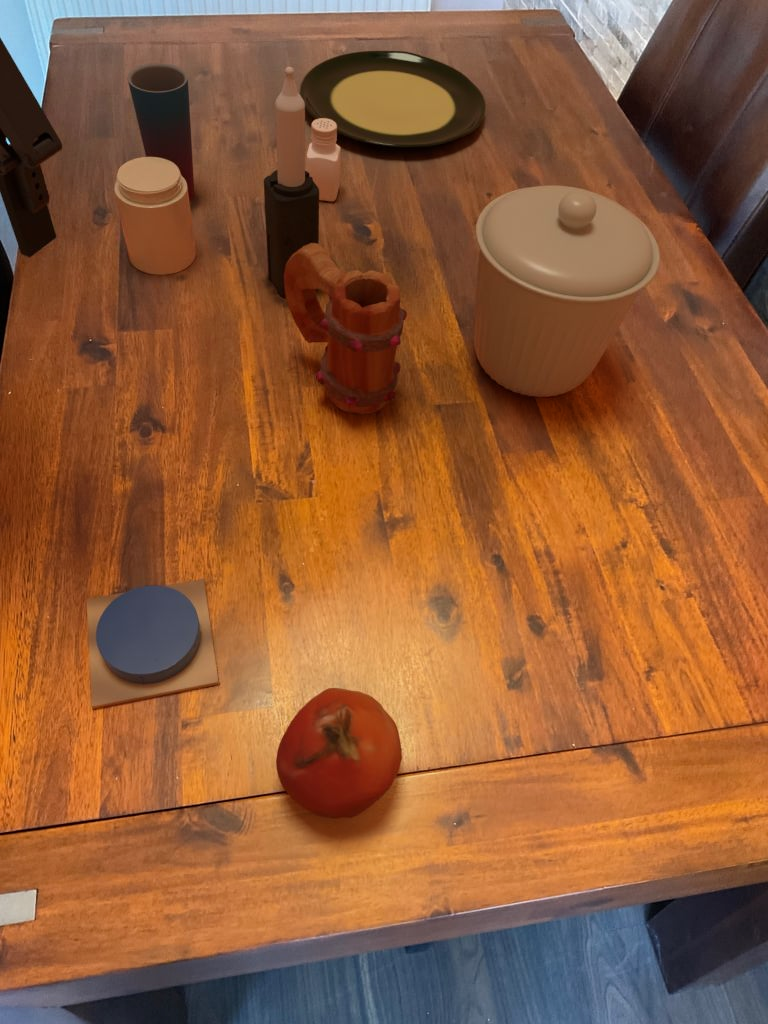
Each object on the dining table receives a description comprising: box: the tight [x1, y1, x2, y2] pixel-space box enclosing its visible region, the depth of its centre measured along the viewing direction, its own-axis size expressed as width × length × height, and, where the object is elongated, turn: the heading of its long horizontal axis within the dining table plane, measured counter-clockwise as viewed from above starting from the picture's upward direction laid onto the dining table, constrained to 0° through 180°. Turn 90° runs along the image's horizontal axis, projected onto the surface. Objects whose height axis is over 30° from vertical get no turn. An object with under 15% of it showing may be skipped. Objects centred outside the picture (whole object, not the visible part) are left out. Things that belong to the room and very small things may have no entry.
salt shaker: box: [306, 118, 342, 202], centre depth 104 cm, size 4×4×10 cm
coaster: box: [85, 578, 220, 710], centre depth 67 cm, size 10×10×1 cm
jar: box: [113, 156, 197, 276], centre depth 93 cm, size 8×8×11 cm
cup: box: [127, 62, 195, 202], centre depth 99 cm, size 7×7×15 cm
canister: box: [473, 184, 661, 398], centre depth 83 cm, size 18×18×21 cm
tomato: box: [275, 687, 403, 820], centre depth 59 cm, size 9×9×8 cm
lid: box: [96, 584, 201, 685], centre depth 66 cm, size 8×8×2 cm
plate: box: [299, 50, 487, 148], centre depth 121 cm, size 28×28×2 cm
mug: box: [284, 243, 408, 414], centre depth 81 cm, size 15×8×15 cm, turn 48°
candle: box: [263, 66, 320, 298], centre depth 86 cm, size 5×5×25 cm
